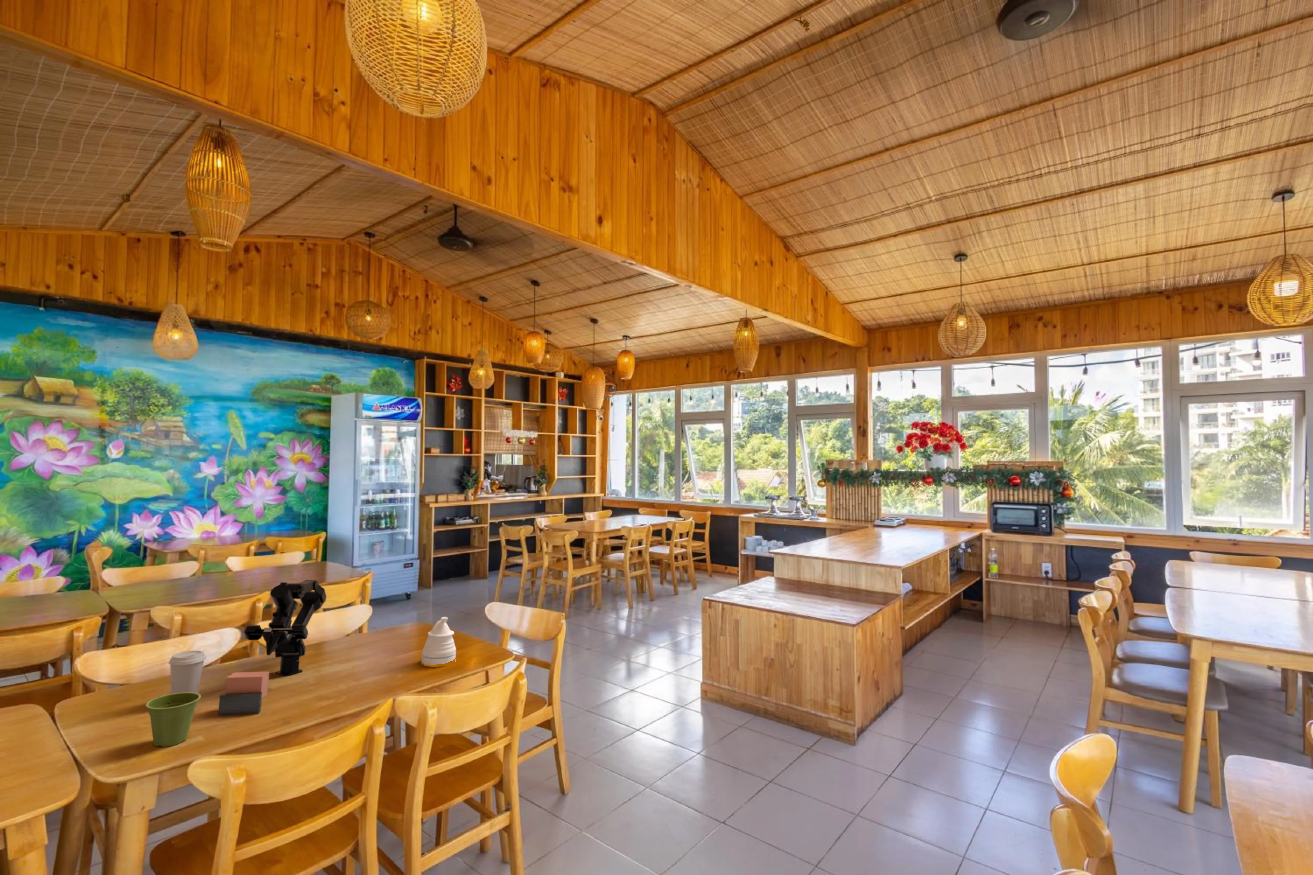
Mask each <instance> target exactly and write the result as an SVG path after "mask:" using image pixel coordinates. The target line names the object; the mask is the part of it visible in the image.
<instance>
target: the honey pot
mask: <svg viewBox="0 0 1313 875" xmlns="http://www.w3.org/2000/svg"><path fill="white" fill-rule="evenodd" d="M448 620H449V618H448V617H447V616H442V617H441V618H440V620H437V622H435V623H434V625H433V626H432V628H431V630H430V631H428V632H427V639H426V640H425V643H424V647H423V648H422V653H421V663H422V662H423V663H424V664H429V665H436V664H445V663H448V662H450V661H453V660H454V659H455V658H457V657H456V656H457V655H456V654H457V646H456V645H455V640H454V639H453V635H455V632H454V631H453V630H451V629H450V627H449V625H448V623H447V621H448ZM455 660H456V659H455Z"/></svg>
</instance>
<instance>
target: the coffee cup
mask: <svg viewBox="0 0 1313 875" xmlns="http://www.w3.org/2000/svg"><path fill="white" fill-rule="evenodd" d="M206 659H207V656H206V655H205V652H204V651H203V650H187V651H185V650H184V651H181V652H178V653H174V654H172V656H171V658H170V659H169V661H168V664H169V665H170V666H169V667H170V670H169V671H170V694H173V693H181V692H194V693H198V694H199V689H200V683H201V679H202V674H203V668H204V663H205V661H206Z"/></svg>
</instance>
